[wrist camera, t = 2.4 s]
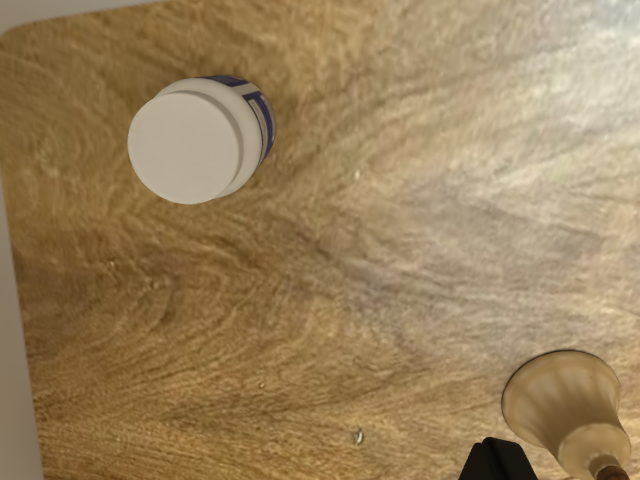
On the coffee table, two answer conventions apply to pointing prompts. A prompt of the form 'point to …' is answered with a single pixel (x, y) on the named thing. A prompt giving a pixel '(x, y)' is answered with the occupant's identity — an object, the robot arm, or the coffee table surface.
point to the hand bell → (570, 413)
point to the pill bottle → (201, 138)
